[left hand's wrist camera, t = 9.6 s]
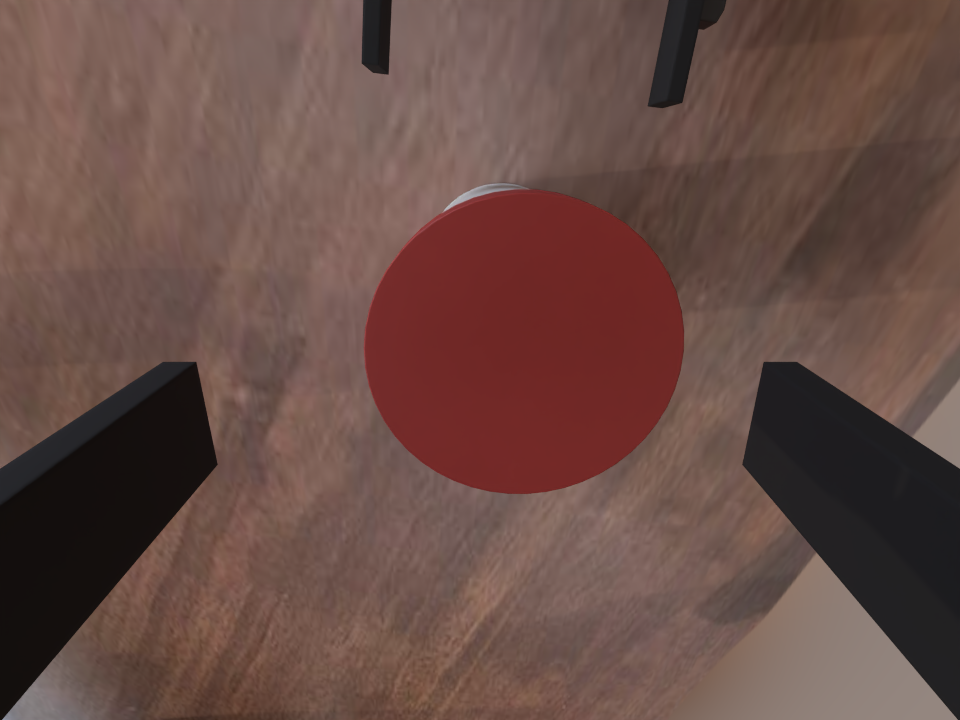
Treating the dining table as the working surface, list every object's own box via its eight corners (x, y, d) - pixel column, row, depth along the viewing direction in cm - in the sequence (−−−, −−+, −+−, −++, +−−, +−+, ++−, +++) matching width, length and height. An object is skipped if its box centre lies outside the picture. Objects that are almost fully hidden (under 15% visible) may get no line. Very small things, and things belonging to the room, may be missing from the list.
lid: (356, 440, 20) (345, 466, 18) (398, 157, 17) (389, 156, 15) (615, 486, 21) (628, 516, 19) (708, 226, 17) (733, 234, 16)
